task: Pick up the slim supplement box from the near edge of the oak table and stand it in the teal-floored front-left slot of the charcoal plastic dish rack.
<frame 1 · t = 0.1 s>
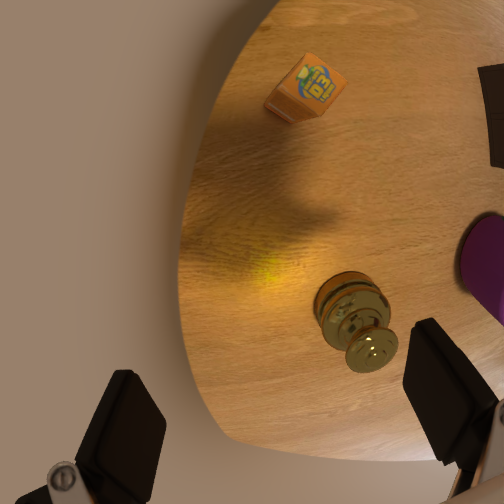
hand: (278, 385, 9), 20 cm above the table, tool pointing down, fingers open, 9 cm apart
supplement box: (289, 102, 24), on the table
brass knobbed weight: (345, 300, 31), on the table
mug: (495, 253, 30), on the table
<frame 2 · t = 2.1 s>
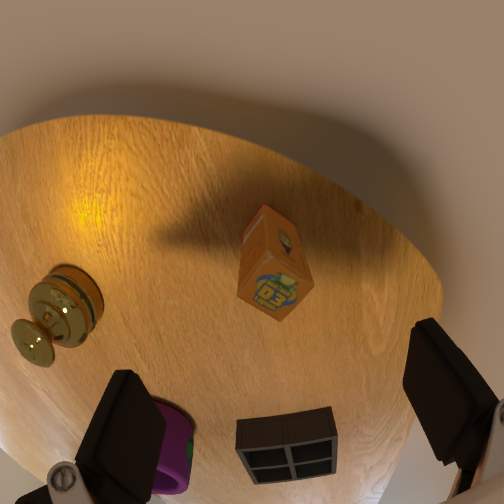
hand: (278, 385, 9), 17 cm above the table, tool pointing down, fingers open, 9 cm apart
rack: (288, 437, 35), on the table
supplement box: (268, 229, 25), on the table
brass knobbed weight: (76, 295, 27), on the table
mug: (159, 429, 35), on the table
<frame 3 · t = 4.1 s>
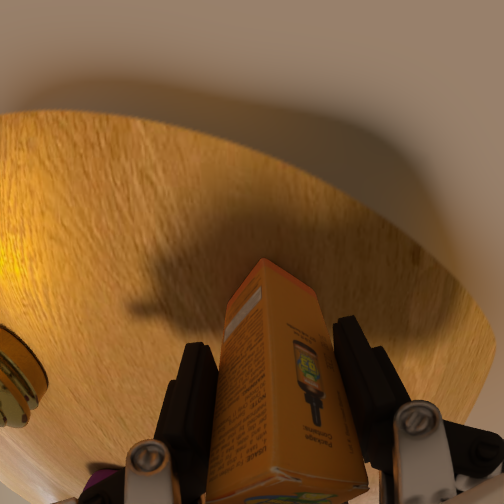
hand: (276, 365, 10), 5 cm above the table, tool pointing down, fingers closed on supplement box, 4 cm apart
supplement box: (268, 296, 14), on the table, touching gripper
brass knobbed weight: (15, 359, 17), on the table
mug: (139, 492, 25), on the table
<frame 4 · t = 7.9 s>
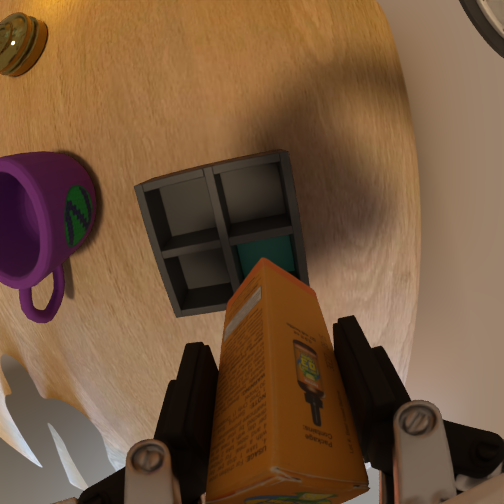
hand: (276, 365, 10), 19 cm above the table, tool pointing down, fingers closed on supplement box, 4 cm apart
rack: (229, 225, 28), on the table
supplement box: (268, 296, 14), point 14 cm above the table, touching gripper
brass knobbed weight: (26, 47, 20), on the table
mug: (64, 226, 28), on the table
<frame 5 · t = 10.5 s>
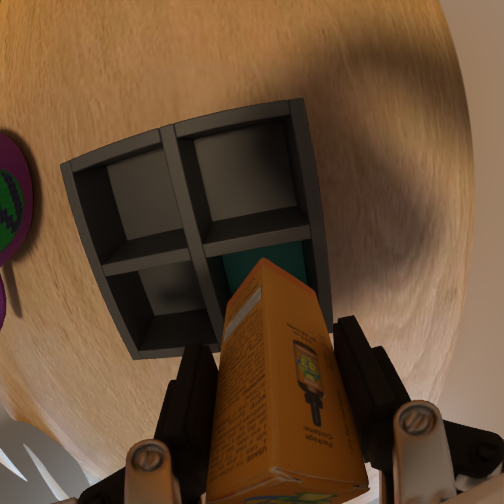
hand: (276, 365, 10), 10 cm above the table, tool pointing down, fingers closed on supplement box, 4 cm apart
rack: (209, 224, 18), on the table
supplement box: (268, 296, 14), point 5 cm above the table, touching gripper
mug: (3, 226, 18), on the table
when the fingers open (6 cm above the table, at t = 12.1 s): supplement box stays where it is, resting on rack.
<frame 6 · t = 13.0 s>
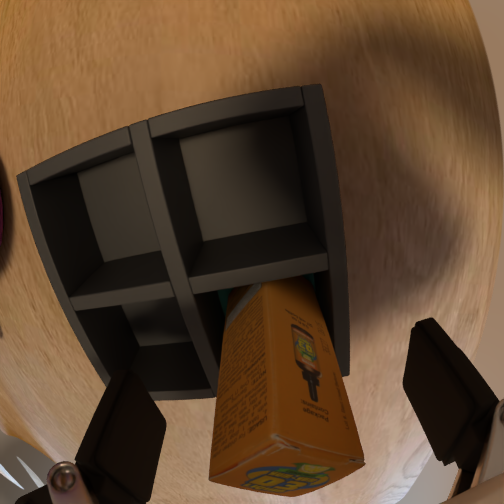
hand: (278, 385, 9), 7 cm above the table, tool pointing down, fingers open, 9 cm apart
rack: (200, 243, 15), on the table
supplement box: (268, 288, 15), point 1 cm above the table, touching rack
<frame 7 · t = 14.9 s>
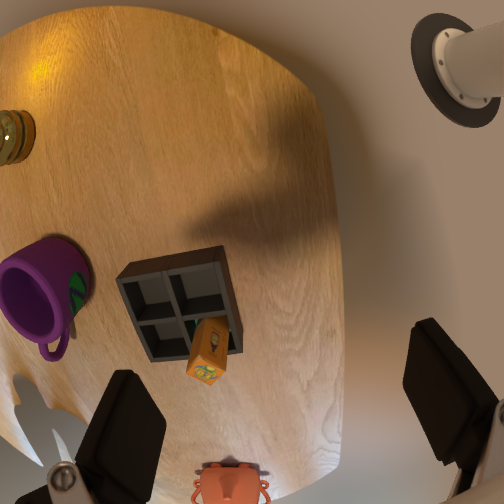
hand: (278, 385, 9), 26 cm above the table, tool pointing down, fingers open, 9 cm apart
rack: (186, 298, 37), on the table
supplement box: (213, 316, 37), point 1 cm above the table, touching rack
brass knobbed weight: (19, 136, 28), on the table
teapot: (231, 470, 54), on the table
mug: (66, 288, 36), on the table
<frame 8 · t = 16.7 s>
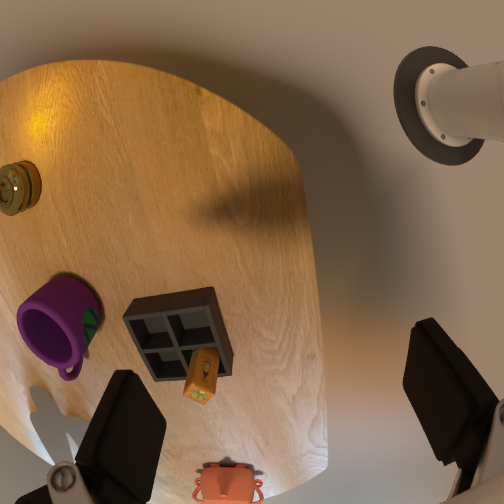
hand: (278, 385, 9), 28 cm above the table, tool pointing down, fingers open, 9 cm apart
rack: (184, 328, 42), on the table
supplement box: (207, 344, 42), point 1 cm above the table, touching rack
brass knobbed weight: (26, 184, 34), on the table
teapot: (228, 470, 59), on the table
mug: (79, 317, 42), on the table
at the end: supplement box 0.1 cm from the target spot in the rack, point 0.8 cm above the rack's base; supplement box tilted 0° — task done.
